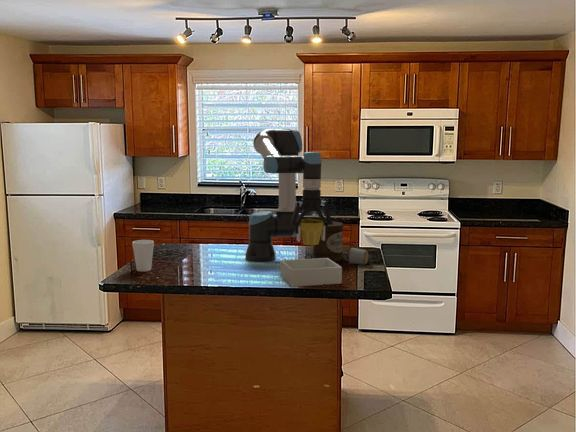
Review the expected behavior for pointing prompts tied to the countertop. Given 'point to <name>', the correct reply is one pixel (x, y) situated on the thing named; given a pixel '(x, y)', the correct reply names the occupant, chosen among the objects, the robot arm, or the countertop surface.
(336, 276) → the crate
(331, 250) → the wooden container
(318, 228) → the plant pot
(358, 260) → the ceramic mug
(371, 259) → the countertop surface
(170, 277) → the countertop surface
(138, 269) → the foam cup
